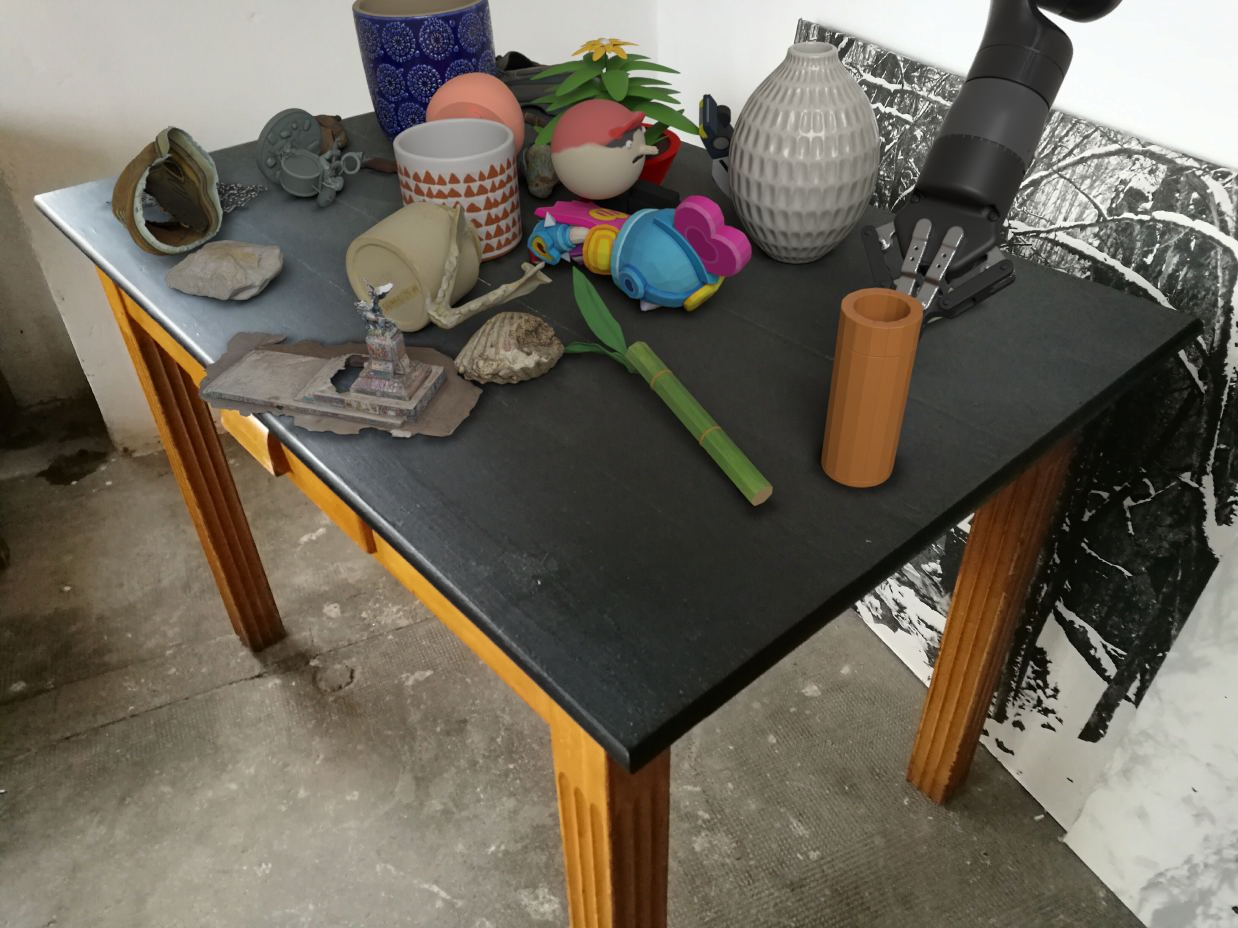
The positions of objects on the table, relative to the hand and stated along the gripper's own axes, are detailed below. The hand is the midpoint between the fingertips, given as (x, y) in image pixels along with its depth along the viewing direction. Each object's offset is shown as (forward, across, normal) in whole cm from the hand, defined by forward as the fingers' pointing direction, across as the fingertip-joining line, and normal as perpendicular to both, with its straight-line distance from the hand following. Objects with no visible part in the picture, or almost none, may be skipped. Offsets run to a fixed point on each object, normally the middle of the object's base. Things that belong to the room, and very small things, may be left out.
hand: (891, 355), depth 73 cm
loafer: (-30, -85, +43) cm, 100 cm away
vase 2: (0, -58, +12) cm, 59 cm away
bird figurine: (-26, -67, +29) cm, 78 cm away
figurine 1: (-4, -92, +8) cm, 93 cm away
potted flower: (-12, -49, +25) cm, 56 cm away
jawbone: (+9, -40, -3) cm, 41 cm away
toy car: (-23, -33, +23) cm, 46 cm away
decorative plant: (+11, -17, +1) cm, 21 cm away
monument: (+21, -47, -8) cm, 52 cm away
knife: (-5, -75, +17) cm, 77 cm away
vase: (-13, -23, +26) cm, 37 cm away
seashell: (+9, -29, -4) cm, 31 cm away
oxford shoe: (+7, -88, -5) cm, 88 cm away
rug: (+7, -101, +3) cm, 101 cm away
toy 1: (-9, -39, +10) cm, 41 cm away
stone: (+11, -73, -3) cm, 74 cm away
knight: (-4, -47, +12) cm, 49 cm away
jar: (+9, 0, +4) cm, 10 cm away
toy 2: (-10, -29, +17) cm, 35 cm away
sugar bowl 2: (-11, -62, +11) cm, 64 cm away
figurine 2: (-8, -101, +17) cm, 103 cm away
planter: (-14, -83, +26) cm, 88 cm away
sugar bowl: (+10, -51, -6) cm, 52 cm away
